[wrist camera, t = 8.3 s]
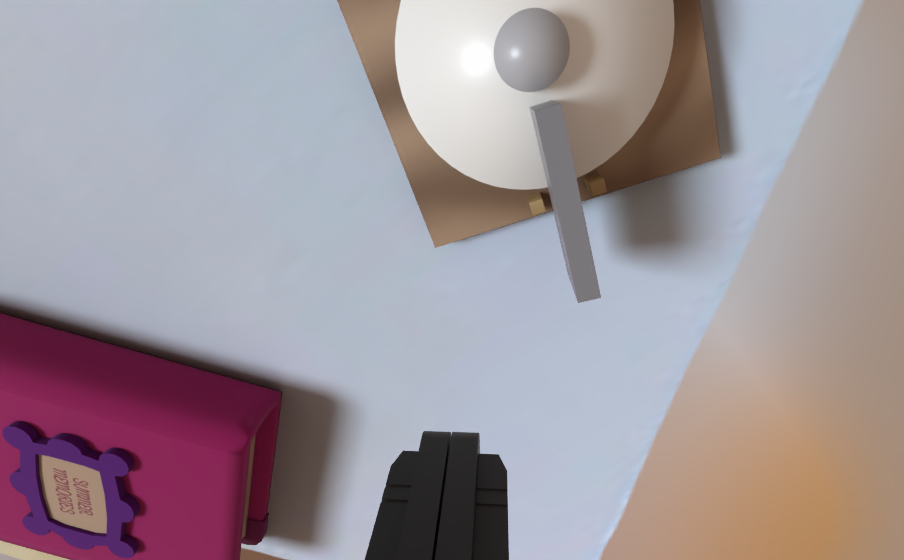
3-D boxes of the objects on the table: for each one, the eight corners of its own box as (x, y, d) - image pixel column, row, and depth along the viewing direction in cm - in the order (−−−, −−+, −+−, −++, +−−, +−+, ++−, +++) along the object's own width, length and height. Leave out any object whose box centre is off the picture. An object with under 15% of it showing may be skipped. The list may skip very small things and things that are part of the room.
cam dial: (365, -41, 24) (324, -78, 18) (639, -157, 21) (689, -244, 15) (470, 284, 30) (463, 328, 25) (686, 231, 28) (732, 268, 22)
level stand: (325, -48, 25) (301, -66, 22) (656, -216, 21) (682, -266, 18) (438, 240, 31) (431, 257, 28) (709, 153, 27) (735, 162, 24)
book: (-28, 292, 38) (-146, 339, 31) (287, 381, 38) (240, 447, 32) (10, 464, 47) (-76, 530, 40) (267, 535, 47) (226, 613, 40)
